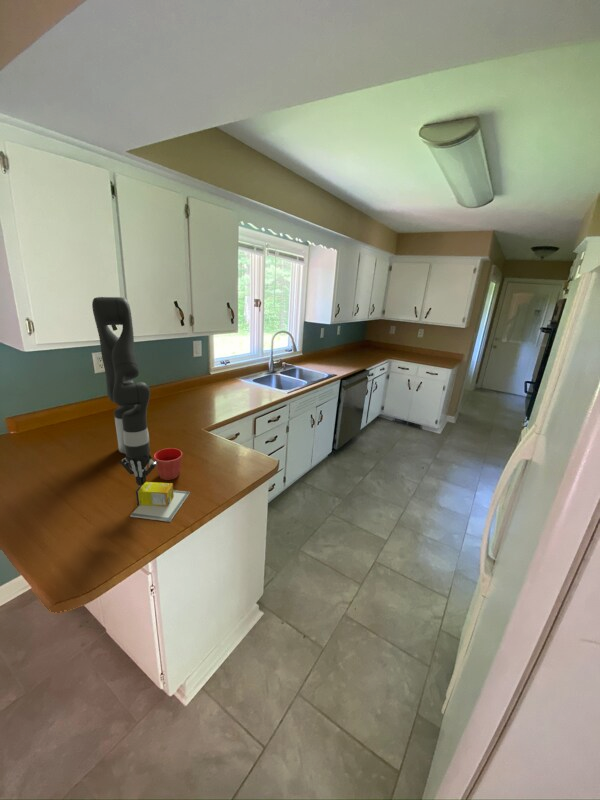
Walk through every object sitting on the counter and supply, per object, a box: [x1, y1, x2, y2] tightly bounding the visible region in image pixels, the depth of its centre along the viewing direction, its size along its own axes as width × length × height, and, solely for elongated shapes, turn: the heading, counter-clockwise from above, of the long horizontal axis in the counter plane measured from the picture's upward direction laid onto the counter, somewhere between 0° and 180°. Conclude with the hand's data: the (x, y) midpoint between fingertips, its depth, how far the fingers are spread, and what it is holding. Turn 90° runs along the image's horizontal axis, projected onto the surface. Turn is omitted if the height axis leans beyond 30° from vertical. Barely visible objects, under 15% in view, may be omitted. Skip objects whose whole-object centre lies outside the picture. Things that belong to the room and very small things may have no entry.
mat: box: [130, 489, 191, 523], centre depth 114 cm, size 16×14×1 cm
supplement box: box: [135, 481, 174, 506], centre depth 114 cm, size 6×6×11 cm
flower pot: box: [153, 447, 183, 481], centre depth 129 cm, size 11×11×10 cm
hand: (141, 484), depth 112 cm, fingers closed
